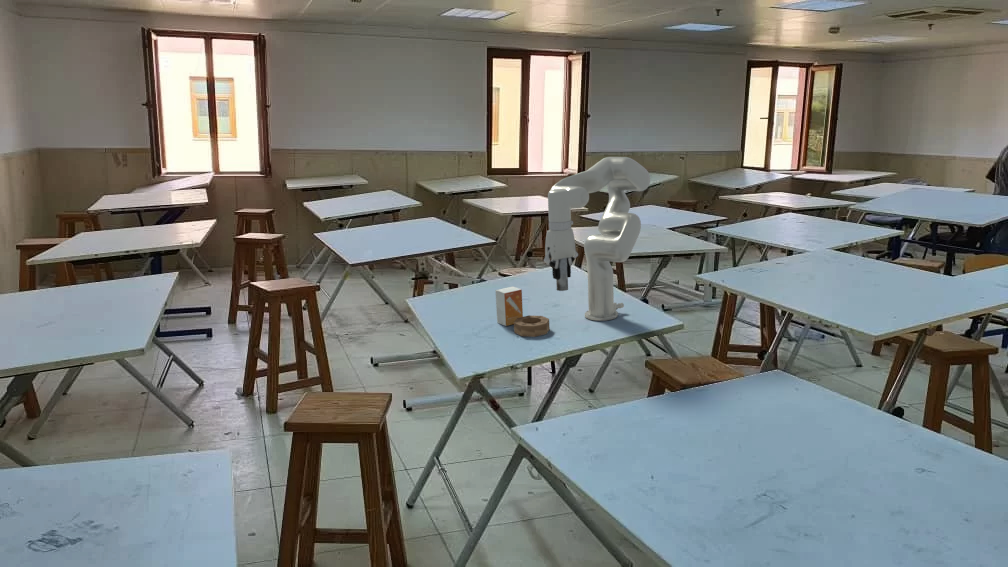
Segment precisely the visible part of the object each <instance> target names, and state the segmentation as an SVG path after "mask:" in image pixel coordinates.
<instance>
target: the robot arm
mask: <svg viewBox="0 0 1008 567" xmlns="http://www.w3.org/2000/svg"><path fill="white" fill-rule="evenodd" d="M650 183H651V175H650V173H649V171H648V169H646V168H645V167H644V166H643V165H642V164H640V163H639V162H637V161H636V160H635V159H633V158H631V157H627V156H607V157H604V158H602V159H600V160H599V161H598V162H596V163H594V165H592V166H590V168H588V169H587V170H585V171H581V172H579V173H576V174H573V175H570V176H569V175H568V176H566V177H565V178H562V179H560V180H559V181H557V182H556V183H555V184H554V185H553V186H552V187H551V188H550V190H549V191H548V193H547V208H548V210H547V211H548V230H546V235H545V236H546V237H545V245H544V246H545V247H544V248H545V249H544V255H545V256H544V257H543V258H544V259H543V262H544V263H545V264H548V265H549V266H550V268H551V270H552V278H553V279H554V280H556V279H557V280H559V279H560V270H559V268H558V263H559V260H560V259H563V258H567V270H568V278H571V277H572V275H571V274H572V271H571V269H572V268H571V267H572V266H573V263H574V261H575V259H576V258H577V257H578V256H579V253H578V252H577V250H576V241H575V235H574V230H573V228H572V225H574V221H573V220H572V216H571V213H572V212H571V209H581V208H584V207H585V206H586V205H587V204H588V203H589V201H590V194H593V193H596V192H599V191H600V190H602V189H603V188H604V187H606V186H607V192H608V203H607V204H606V207H605V209H604V212H603V213H602V215H601V218H600V220H599V222H598V225H597V227H598V231H599V234H597V233H595V234H592V235H589V236H588V237H587V238H586V239H585V242H584V245H583V248H584V254H585V259H586V267H587V291H588V292H587V294H588V295H587V296H588V298H587V302H588V310H587V311H585V312H584V317H585V318H586V319H587V320H591V321H600V322H603V321H611V320H615V319H616V318H618V317H619V312H618V311H617V310H618V309H623V308H624V307H625V304H624V303H623V302H619V303H617V302H614V301H615V300H614V293H615V292H614V270H613V266H612V265H611V263H612V262H614V263H623V262H626V261H627V260H628V259H629V257H630V256H631V253H632V252H633V249H634V247H635V245H636V242H637V240H638V238H639V235H640V232H641V229H642V223H641V219H640V217H639V216H638V214H636V213H633V212H630V209H631V202H630V200H629V198H628V196H627V194H626V192H627V191H628V192H643V191H646V190H647V189H648V188H649V186H650ZM610 262H611V263H610Z"/></svg>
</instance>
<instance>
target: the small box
mask: <svg viewBox="0 0 1008 567" xmlns="http://www.w3.org/2000/svg"><path fill="white" fill-rule="evenodd" d="M522 293H523V290H522V289H521V288H520V287H516V286H509V287H502V288H500V289H496V290H495V306H496V307H495V308H496V309H495V310H496V322H497V324H500V325H502V326H505V327H507V326H512V325H514V322H515V320H516V319H517V318H520V317H524V315H523V314H524V312H523V311H524V310H523V308H524V307H523V294H522Z"/></svg>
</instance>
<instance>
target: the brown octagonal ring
mask: <svg viewBox="0 0 1008 567" xmlns="http://www.w3.org/2000/svg"><path fill="white" fill-rule="evenodd" d="M513 330H514V334H516V335H519V336H520V337H530V338H531V337H532V338H533V337H534V338H535V337H540V336H543V335H548V333H549V331H550V318H547V317H545V316H543V315H525V316H524V315H523V317H520V318H517V319H516V320H515V322H514V324H513Z"/></svg>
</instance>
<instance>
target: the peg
mask: <svg viewBox="0 0 1008 567" xmlns="http://www.w3.org/2000/svg"><path fill="white" fill-rule="evenodd" d="M558 268H559V270H560V279H559V280H557V279H555V282H556V291H559V292H564V291H568V290H569V280H568V279H569V277H568V270H567V258H563V259H560V260H559V263H558Z"/></svg>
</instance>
